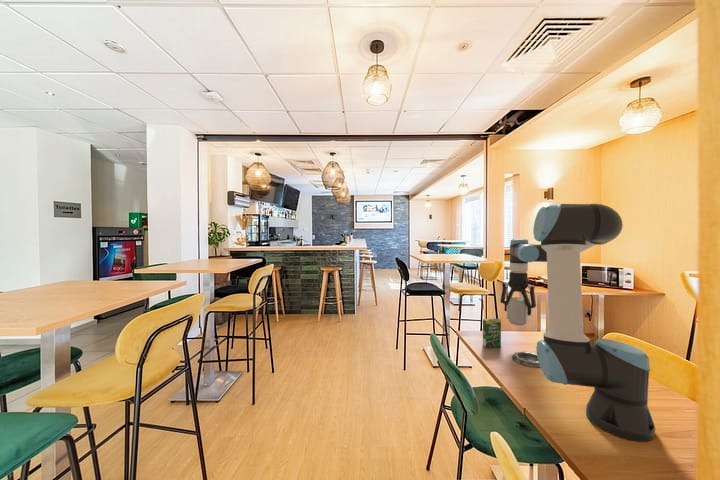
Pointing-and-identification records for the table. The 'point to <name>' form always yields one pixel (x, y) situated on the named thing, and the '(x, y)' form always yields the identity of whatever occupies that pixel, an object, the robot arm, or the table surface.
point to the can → (517, 311)
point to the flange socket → (526, 359)
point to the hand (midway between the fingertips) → (517, 320)
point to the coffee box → (491, 333)
